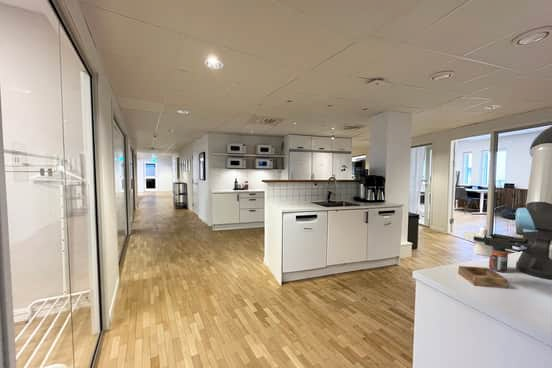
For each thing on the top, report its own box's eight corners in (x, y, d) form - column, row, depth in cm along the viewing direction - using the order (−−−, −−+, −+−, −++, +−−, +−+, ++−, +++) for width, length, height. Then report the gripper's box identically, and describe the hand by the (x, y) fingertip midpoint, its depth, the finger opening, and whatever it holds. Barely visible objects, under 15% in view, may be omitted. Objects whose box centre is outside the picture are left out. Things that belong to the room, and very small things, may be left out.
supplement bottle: (485, 266, 109) (486, 243, 108) (500, 267, 108) (501, 243, 107) (494, 272, 103) (496, 247, 102) (510, 273, 102) (512, 248, 101)
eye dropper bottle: (491, 257, 91) (492, 227, 91) (472, 254, 95) (473, 225, 95) (492, 255, 94) (493, 226, 93) (474, 251, 98) (475, 223, 98)
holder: (487, 275, 100) (487, 267, 99) (507, 288, 89) (507, 279, 89) (458, 273, 102) (458, 265, 102) (474, 285, 91) (474, 276, 91)
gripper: (545, 266, 75) (458, 247, 94) (555, 255, 84) (474, 240, 104) (547, 244, 74) (459, 229, 94) (556, 235, 84) (474, 223, 103)
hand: (467, 235), depth 99 cm, fingers closed on eye dropper bottle, 4 cm apart
